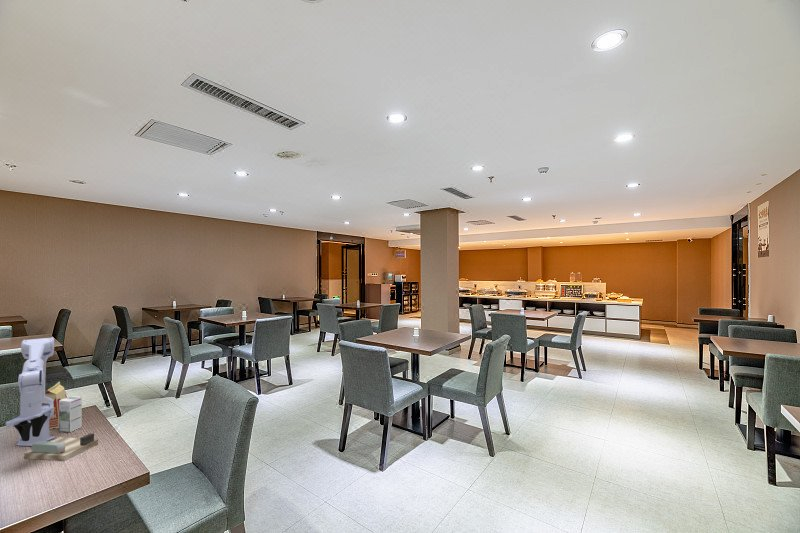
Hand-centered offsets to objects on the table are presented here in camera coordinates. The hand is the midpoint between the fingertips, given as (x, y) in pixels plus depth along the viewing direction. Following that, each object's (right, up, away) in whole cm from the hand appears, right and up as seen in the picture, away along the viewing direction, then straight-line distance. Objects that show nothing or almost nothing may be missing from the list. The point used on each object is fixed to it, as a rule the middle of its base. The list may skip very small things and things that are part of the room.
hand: (30, 438), depth 136 cm
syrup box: (-12, -10, +29) cm, 33 cm away
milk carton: (-23, -10, +33) cm, 42 cm away
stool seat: (+3, -10, +9) cm, 14 cm away
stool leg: (+2, -7, +5) cm, 9 cm away
